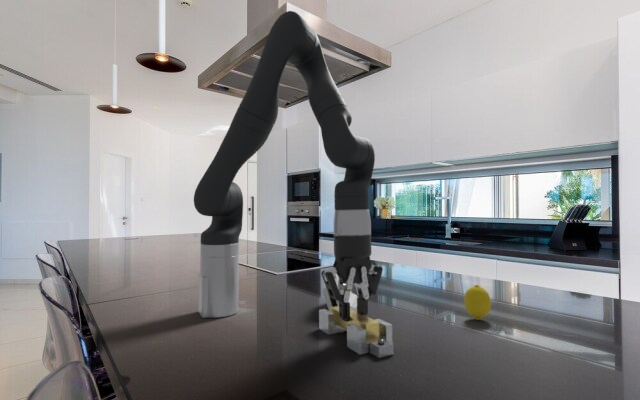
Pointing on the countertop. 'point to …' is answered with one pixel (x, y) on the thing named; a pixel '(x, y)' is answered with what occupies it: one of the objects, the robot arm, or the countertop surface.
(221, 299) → the robot arm
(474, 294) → the lemon
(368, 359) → the countertop surface
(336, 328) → the linkage with metal pins
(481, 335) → the countertop surface
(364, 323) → the link bar
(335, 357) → the countertop surface
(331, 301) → the white rounded housing
